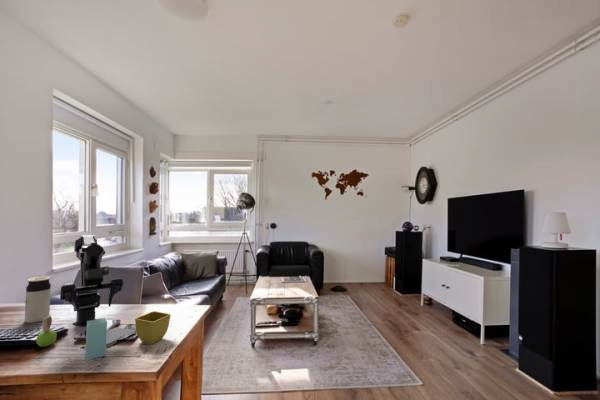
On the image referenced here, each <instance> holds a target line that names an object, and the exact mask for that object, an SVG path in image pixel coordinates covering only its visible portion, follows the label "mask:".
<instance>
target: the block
mask: <svg viewBox="0 0 600 400" xmlns="http://www.w3.org/2000/svg"><path fill="white" fill-rule="evenodd" d="M107 329H108V321H107V319H106V317H102V318H95V320H90V321H87V325H86V335H85V359H86V360H87V361H90V360H93V359H97V358H100V357H103V356H106V355H107V354H106V353H107V347H106V335H107V331H108V330H107Z"/></svg>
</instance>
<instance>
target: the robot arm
mask: <svg viewBox="0 0 600 400" xmlns="http://www.w3.org/2000/svg"><path fill="white" fill-rule="evenodd" d="M73 251H74V252H75V257H76V258H77V259H78V260H79V262H80V263H79V264H80V286H77V287H76V283H70V284H63V285H61V287H60V292H59V294H60V295H59V296H60V297H59V298H60V300H61V301H64V302H68V303H70V304H71V306H73V312H76V321H75V322H73V323H72V325H74V326H82V327H85V326H87V321H90V320H95V319H96V308H97V309H98V308H99V307H100V306H101V298H102V297H101V295H100V293H99V292H98V291H102V290H107V289H108V291H109V292H108V301H107V302H108V307H109V308H110V307H111V305H112V302H113V298H114V296H115V295H116V294H118V293H119V292H121V291H122V290H123V286H124V279H123V278H122V277H119V278H111V279H110V281H109V283H108V282H107V283H103V282H104V277H105V276H109V275H110V269H109V265H107V266H102V265H101V262H102V260H103V257H104V256H105V255H106V250H104V248H103V246H101V245H100V244H99V243H98V239H96V238H95V234H82V235H80V237H79V238H78V239H75V241H74V250H73ZM101 266H102V267H101Z"/></svg>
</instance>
